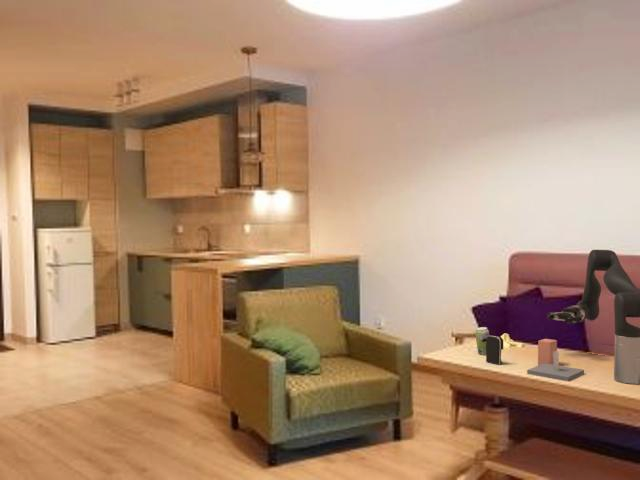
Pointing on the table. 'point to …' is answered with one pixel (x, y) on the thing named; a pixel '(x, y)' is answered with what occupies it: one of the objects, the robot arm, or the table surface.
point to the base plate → (555, 372)
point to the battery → (494, 349)
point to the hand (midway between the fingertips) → (558, 319)
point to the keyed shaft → (555, 361)
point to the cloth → (509, 342)
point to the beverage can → (481, 339)
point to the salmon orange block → (546, 351)
